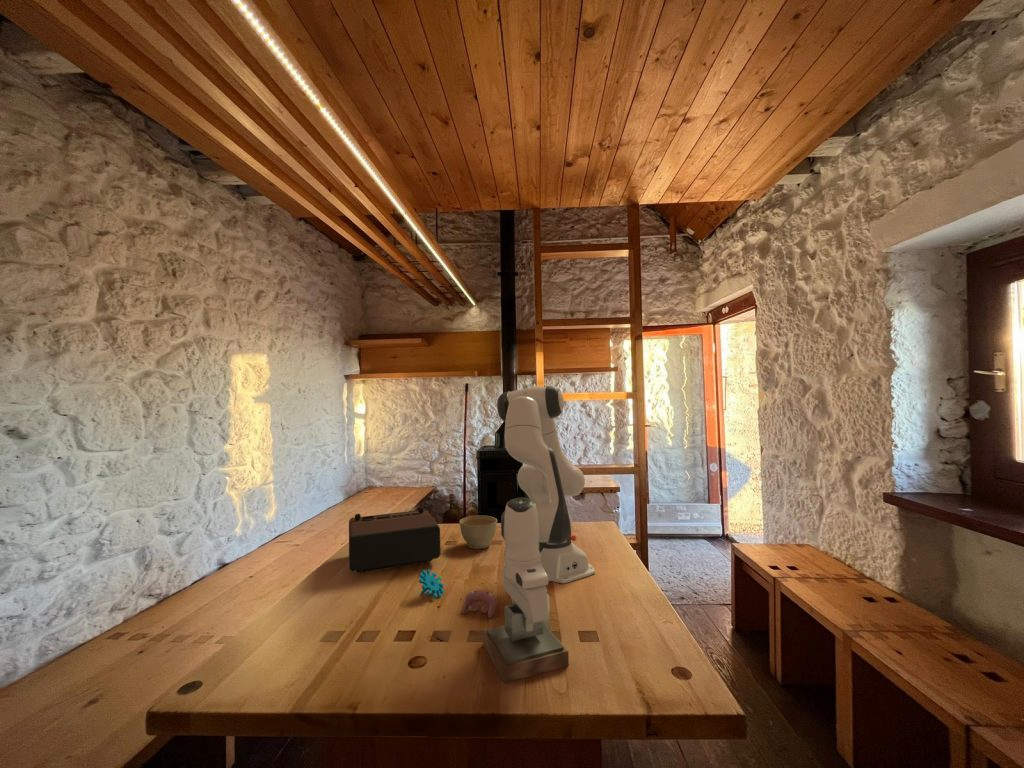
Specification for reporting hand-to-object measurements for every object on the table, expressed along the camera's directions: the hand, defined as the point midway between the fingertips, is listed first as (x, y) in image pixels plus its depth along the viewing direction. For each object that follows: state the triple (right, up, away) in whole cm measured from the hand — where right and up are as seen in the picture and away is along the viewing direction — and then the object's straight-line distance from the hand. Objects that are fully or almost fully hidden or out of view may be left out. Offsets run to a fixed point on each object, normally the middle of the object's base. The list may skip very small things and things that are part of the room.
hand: (523, 623), depth 104 cm
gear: (-29, -10, +33) cm, 45 cm away
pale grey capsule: (+5, -8, +13) cm, 16 cm away
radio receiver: (-49, -11, +64) cm, 81 cm away
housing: (0, -2, 0) cm, 2 cm away
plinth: (0, -8, 0) cm, 8 cm away
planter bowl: (-17, -11, +79) cm, 81 cm away
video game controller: (-13, -9, +21) cm, 26 cm away
